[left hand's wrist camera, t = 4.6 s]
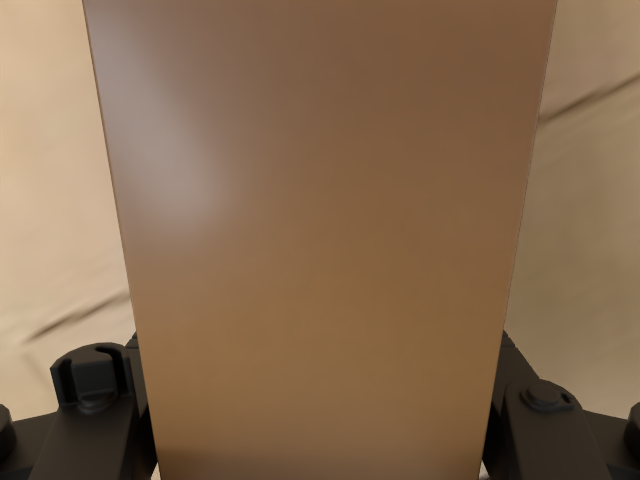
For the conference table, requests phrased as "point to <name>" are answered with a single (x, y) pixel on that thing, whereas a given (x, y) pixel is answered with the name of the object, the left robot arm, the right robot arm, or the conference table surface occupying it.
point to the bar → (319, 224)
